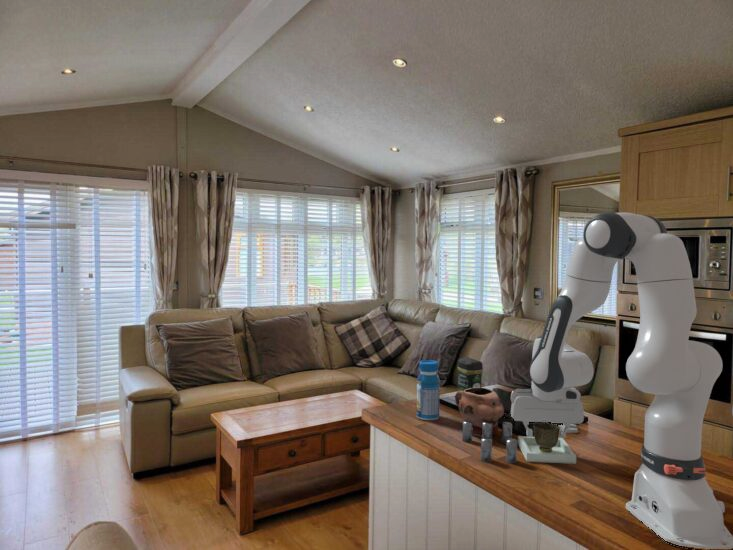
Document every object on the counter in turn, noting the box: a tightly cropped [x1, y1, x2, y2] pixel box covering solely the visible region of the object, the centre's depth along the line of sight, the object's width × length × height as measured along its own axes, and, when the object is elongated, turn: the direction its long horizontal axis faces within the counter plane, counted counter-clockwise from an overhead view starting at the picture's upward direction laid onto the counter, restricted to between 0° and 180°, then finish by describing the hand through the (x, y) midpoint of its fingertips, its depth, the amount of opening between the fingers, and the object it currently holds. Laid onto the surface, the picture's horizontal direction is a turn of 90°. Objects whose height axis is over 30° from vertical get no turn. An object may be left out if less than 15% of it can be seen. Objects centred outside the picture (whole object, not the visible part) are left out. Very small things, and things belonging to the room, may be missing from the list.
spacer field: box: [462, 420, 518, 464], centre depth 149 cm, size 17×15×6 cm
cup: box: [532, 422, 560, 453], centre depth 148 cm, size 8×7×8 cm
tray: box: [517, 435, 577, 465], centre depth 148 cm, size 13×13×2 cm
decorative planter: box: [454, 387, 505, 437], centre depth 165 cm, size 20×12×14 cm, turn 41°
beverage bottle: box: [415, 359, 441, 421], centre depth 179 cm, size 8×8×20 cm
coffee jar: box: [457, 356, 484, 402], centre depth 192 cm, size 10×8×19 cm
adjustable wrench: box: [559, 423, 579, 434], centre depth 174 cm, size 25×6×2 cm, turn 50°
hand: (545, 436), depth 147 cm, fingers open, 8 cm apart
